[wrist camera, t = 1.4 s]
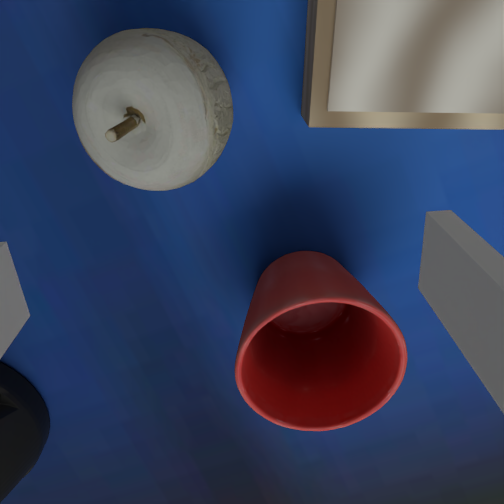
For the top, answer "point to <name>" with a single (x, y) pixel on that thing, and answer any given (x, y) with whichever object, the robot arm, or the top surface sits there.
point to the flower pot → (317, 346)
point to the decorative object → (152, 108)
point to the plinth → (404, 64)
